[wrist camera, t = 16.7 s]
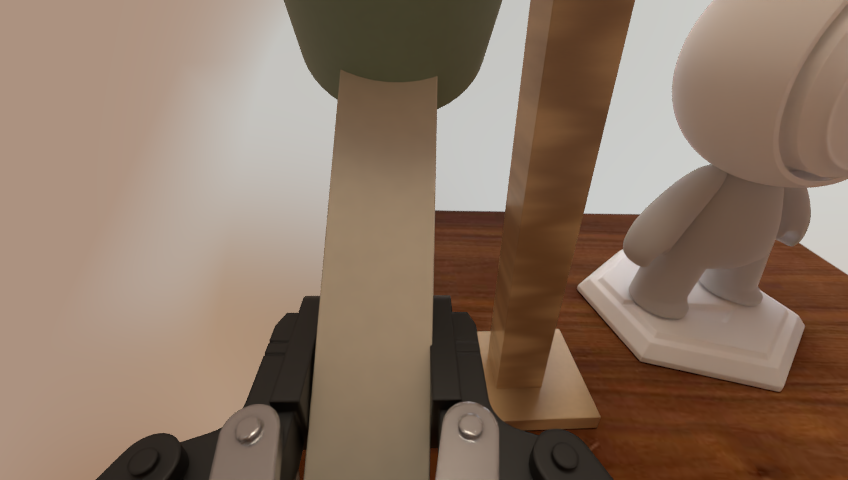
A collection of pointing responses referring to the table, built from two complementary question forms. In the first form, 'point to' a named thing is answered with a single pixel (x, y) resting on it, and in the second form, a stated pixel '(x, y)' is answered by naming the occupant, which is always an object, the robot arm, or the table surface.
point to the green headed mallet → (381, 222)
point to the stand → (550, 209)
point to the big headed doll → (734, 191)
